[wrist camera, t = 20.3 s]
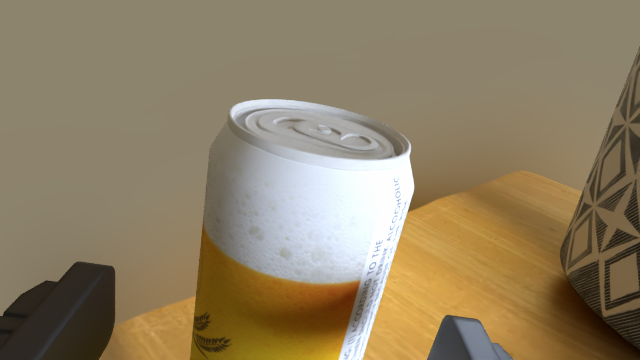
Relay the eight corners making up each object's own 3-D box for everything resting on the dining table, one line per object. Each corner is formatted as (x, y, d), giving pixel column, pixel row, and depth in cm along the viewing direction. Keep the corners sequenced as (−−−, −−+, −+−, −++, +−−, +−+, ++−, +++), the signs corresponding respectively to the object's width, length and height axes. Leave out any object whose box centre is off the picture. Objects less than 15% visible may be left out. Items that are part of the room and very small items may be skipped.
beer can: (234, 378, 21) (277, 88, 16) (343, 436, 20) (439, 133, 14) (145, 490, 16) (163, 113, 10) (285, 583, 14) (400, 191, 9)
